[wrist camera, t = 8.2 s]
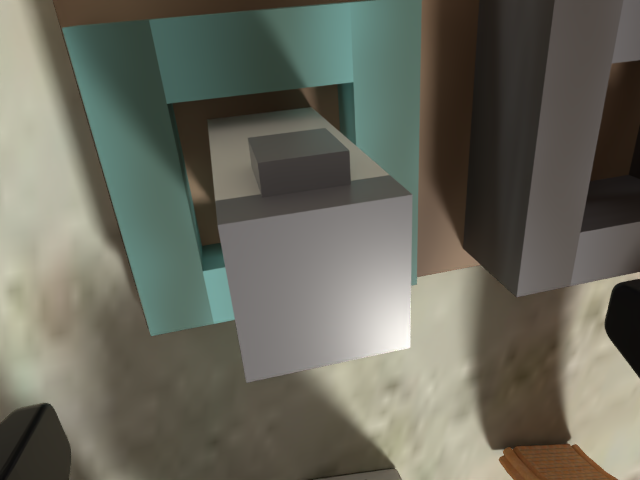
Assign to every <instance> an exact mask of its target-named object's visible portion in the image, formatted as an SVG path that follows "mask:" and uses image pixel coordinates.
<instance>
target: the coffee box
mask: <svg viewBox="0 0 640 480" xmlns="http://www.w3.org/2000/svg"><path fill="white" fill-rule="evenodd" d="M315 480H402V479H401V477H400V475H399V473H398V471H397V470H396V469H387V470H380V471H372V472H365V473H358V474H350V475H344V476H337V477H329V478H322V479H315Z"/></svg>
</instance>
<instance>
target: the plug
mask: <svg viewBox="0 0 640 480" xmlns="http://www.w3.org/2000/svg"><path fill="white" fill-rule="evenodd" d="M207 122H208V132H209V143H210V153H211V163H212V174H213V184H214V194H215V204H216V215H217V225H218V230H219V236H220V241H221V247H222V252H223V258H224V263H225V269H226V274H227V280H228V285H229V290H230V296H231V301H232V307H233V312H234V318H235V323H236V329H237V334H238V340H239V345H240V350H241V356H242V361H243V367H244V372H245V378H246V383H248V382H252V381H257V380H262V379H266V378H271V377H276V376H280V375H285V374H290V373H295V372H299V371H304V370H309V369H313V368H318V367H323V366H327V365H332V364H337V363H341V362H346V361H351V360H355V359H360V358H365V357H369V356H374V355H379V354H383V353H388V352H393V351H397V350H402V349H407V348H410V321H411V259H412V197H413V195H412V194H411V193H410V192H409V191H408V190H407V189H405V188H404V187H403V186H402V185H401V184H400V183H398V182H397V181H396V180H395V179H394V178H393V177H392V176H390V175H389V174H388V173H387V172H386V171H385V170H383V169H382V168H381V167H380V166H379V165H378V164H376V163H375V162H374V161H373V160H372V159H371V158H370V157H368V156H367V155H366V154H365V153H364V152H363V151H361V150H360V149H359V148H358V147H357V146H356V145H355V144H353V143H352V142H351V141H350V140H349V139H348V138H346V137H345V136H344V135H343V134H342V133H341V132H339V131H338V130H337V129H336V128H335V127H334V126H333V125H331V124H330V123H329V122H328V121H327V120H326V119H324V118H323V117H322V116H321V115H320V114H319V113H317V112H316V111H315V110H314V109H313V108H312V107H309V108H300V109H292V110H283V111H275V112H266V113H258V114H250V115H241V116H233V117H224V118H216V119H208V120H207Z"/></svg>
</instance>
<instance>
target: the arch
mask: <svg viewBox="0 0 640 480" xmlns="http://www.w3.org/2000/svg"><path fill="white" fill-rule="evenodd" d="M503 454H504V456H502V457H500V458H499V461H500V463H501V464H502V466H503V467H504V469H505V470H506V471H507V473H508V474H509V475H510V476H511V477H512V478H513V479H514V480H618V479H616V478H615V477H613V476H612V475H610V474H609V473H607V472H606V471H604V470H603V469H602V468H601V467H600V466H599V465H597V464H596V463H595V462H594V461H593V460H592V459H590V458H589V457H588V456H587V455H586V454H585V453H584V452H583V451H582V450H581V449H580V447H579V446H578V445H576V444H575V445H572V446H570V444H560V445H536V446H516V447H515V448H514V449H513V450H512V449H511V448H510V447H508V448H505V449H504V451H503Z"/></svg>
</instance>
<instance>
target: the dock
mask: <svg viewBox="0 0 640 480" xmlns="http://www.w3.org/2000/svg"><path fill="white" fill-rule="evenodd" d="M53 3H54V7H55V10H56V13H57V17H58V20H59V24H60V27H61V31H62V34H63V38H64V41H65V44H66V48H67V51H68V55H69V58H70V62H71V65H72V69H73V72H74V75H75V79H76V82H77V86H78V89H79V93H80V96H81V100H82V103H83V106H84V110H85V113H86V117H87V120H88V124H89V127H90V131H91V134H92V137H93V141H94V144H95V148H96V151H97V155H98V158H99V162H100V165H101V168H102V172H103V175H104V179H105V182H106V186H107V189H108V193H109V196H110V199H111V203H112V206H113V210H114V213H115V217H116V220H117V224H118V227H119V230H120V234H121V237H122V241H123V244H124V248H125V251H126V255H127V258H128V261H129V265H130V268H131V272H132V275H133V279H134V282H135V286H136V289H137V292H138V296H139V299H140V303H141V306H142V310H143V313H144V317H145V320H146V323H147V327H148V329H149V331H150V334H151V336H154V335H159V334H164V333H170V332H175V331H180V330H185V329H190V328H195V327H200V326H206V325H211V324H216V323H221V322H226V321H231V320H235V318H234V312H233V307H232V301H231V296H230V290H229V285H228V280H227V274H226V269H225V263H224V258H223V252H222V247H221V241H220V236H219V230H218V225H217V215H216V204H215V194H214V184H213V174H212V163H211V153H210V143H209V132H208V122H207V120H208V119H216V118H224V117H233V116H241V115H250V114H258V113H266V112H275V111H283V110H292V109H300V108H309V107H312V108H313V109H314V110H315V111H316V112H317V113H319V114H320V115H321V116H322V117H323V118H324V119H326V120H327V121H328V122H329V123H330V124H331V125H333V126H334V127H335V128H336V129H337V130H338V131H339V132H341V133H342V134H343V135H344V136H345V137H346V138H348V139H349V140H350V141H351V142H352V143H353V144H355V145H356V146H357V147H358V148H359V149H360V150H361V151H363V152H364V153H365V154H366V155H367V156H368V157H370V158H371V159H372V160H373V161H374V162H375V163H376V164H378V165H379V166H380V167H381V168H382V169H383V170H385V171H386V172H387V173H388V174H389V175H390V176H392V177H393V178H394V179H395V180H396V181H397V182H398V183H400V184H401V185H402V186H403V187H404V188H405V189H407V190H408V191H409V192H410V193H411V194H412V195H413V197H412V259H411V285H417V277H420V276H426V275H431V274H436V273H441V272H447V271H452V270H457V269H462V268H467V267H473V266H478V265H482V266H483V267H484V268H485V269H486V270H487V271H488V272H489V273H490V274H492V275H493V276H494V277H495V278H496V279H497V280H498V281H499V282H500V283H501V284H503V285H504V286H505V287H506V288H507V289H508V290H509V291H510V292H511V293H513V294H514V295H515V296H516V297H520V296H525V295H530V294H534V293H539V292H544V291H549V290H554V289H559V288H563V287H568V286H573V285H578V284H583V283H588V282H592V281H597V280H602V279H607V278H612V277H617V276H621V275H626V274H631V273H636V272H640V0H53Z"/></svg>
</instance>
